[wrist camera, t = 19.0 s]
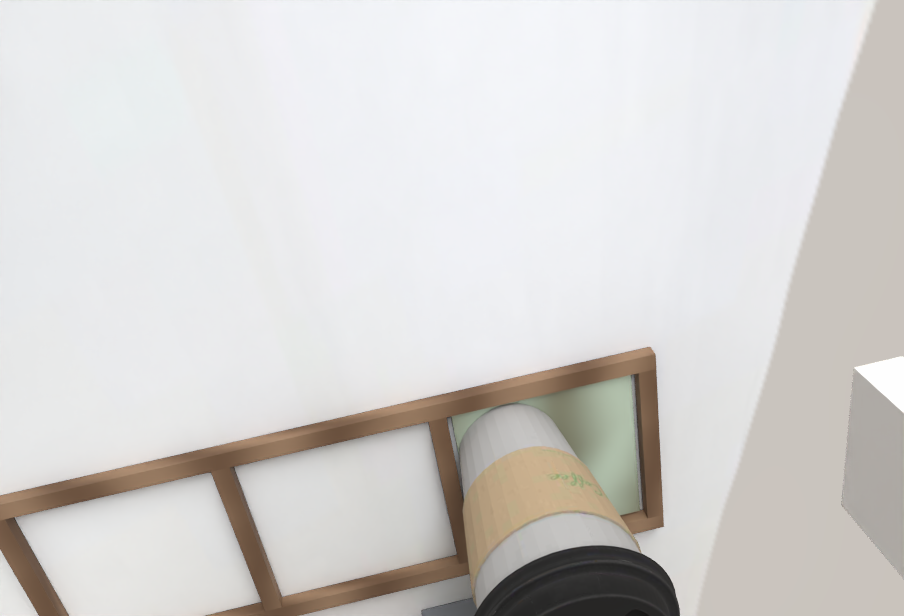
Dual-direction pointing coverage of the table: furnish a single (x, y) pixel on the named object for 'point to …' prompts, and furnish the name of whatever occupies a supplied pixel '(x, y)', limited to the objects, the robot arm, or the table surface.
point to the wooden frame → (553, 392)
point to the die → (453, 609)
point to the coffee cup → (547, 528)
